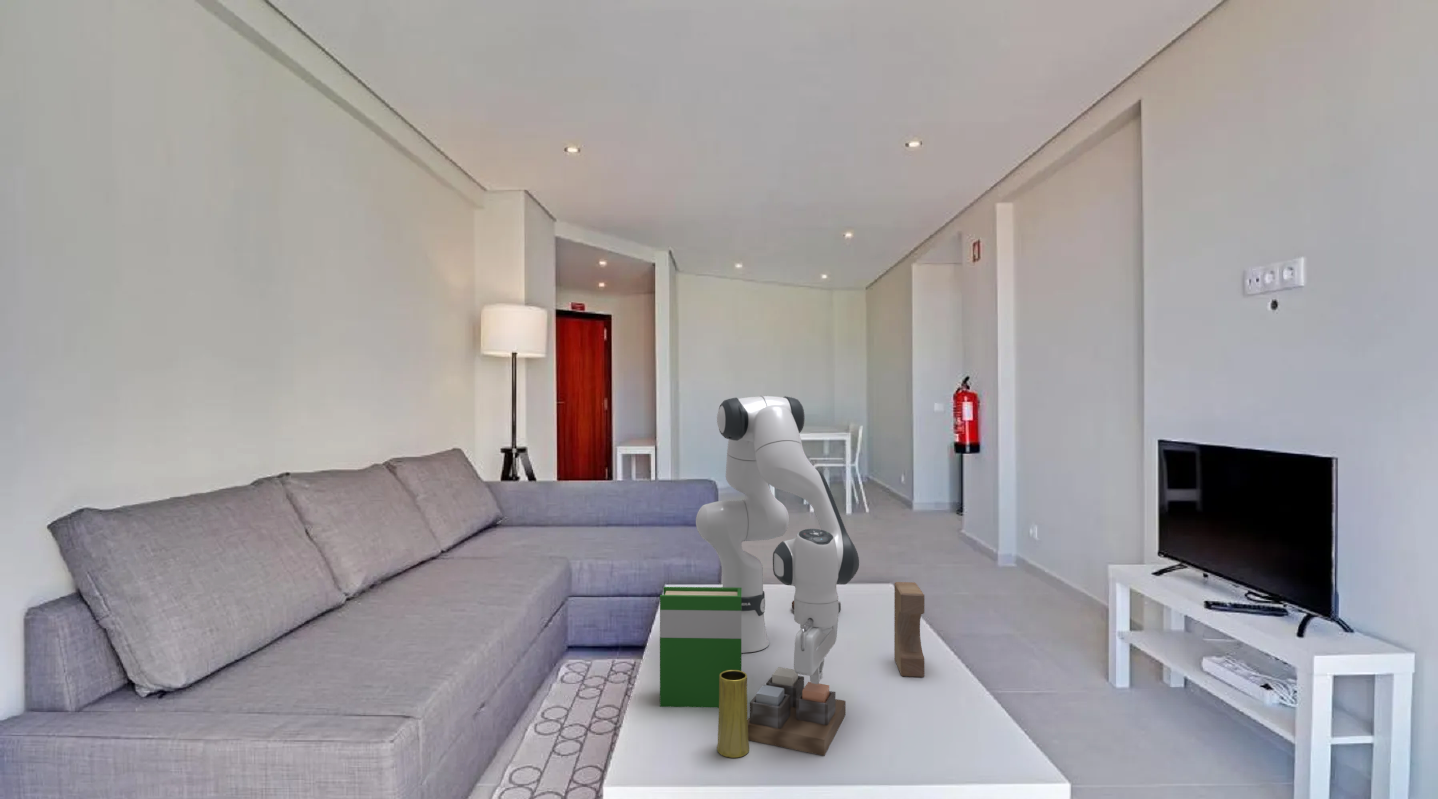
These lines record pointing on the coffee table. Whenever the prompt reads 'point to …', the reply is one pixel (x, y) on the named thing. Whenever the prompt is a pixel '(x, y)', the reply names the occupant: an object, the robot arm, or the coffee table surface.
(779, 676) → the cream button
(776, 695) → the slate button
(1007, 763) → the coffee table surface
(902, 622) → the decorative block
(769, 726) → the block sorting tray
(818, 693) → the terracotta button
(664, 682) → the hardback book
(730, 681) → the vase
